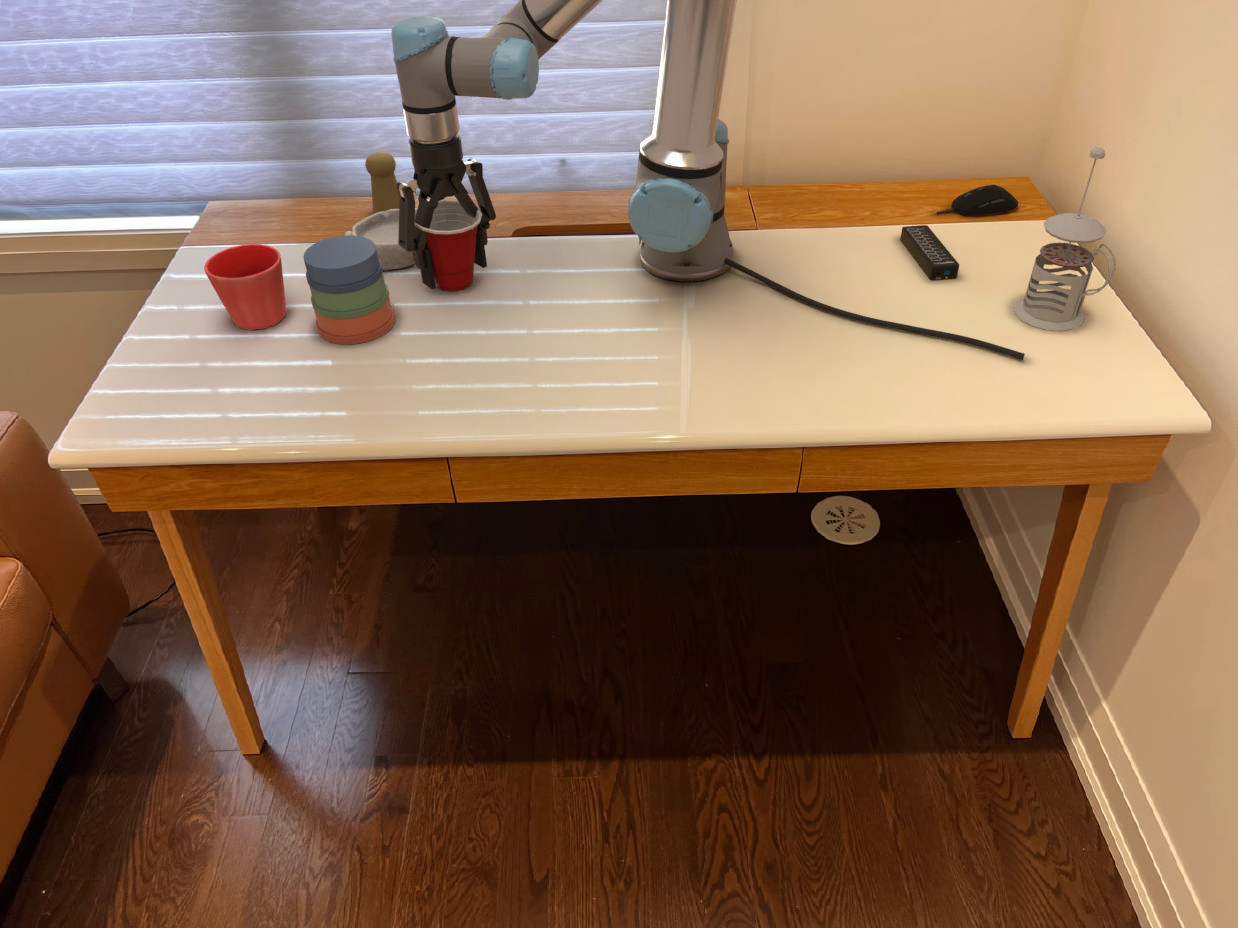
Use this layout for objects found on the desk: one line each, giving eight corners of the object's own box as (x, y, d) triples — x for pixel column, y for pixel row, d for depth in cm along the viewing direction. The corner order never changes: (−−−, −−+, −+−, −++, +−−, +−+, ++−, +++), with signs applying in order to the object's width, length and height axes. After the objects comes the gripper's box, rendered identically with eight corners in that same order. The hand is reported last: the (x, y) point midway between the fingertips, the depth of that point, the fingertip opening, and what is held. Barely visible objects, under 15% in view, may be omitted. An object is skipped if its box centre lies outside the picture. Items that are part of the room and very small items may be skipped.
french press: (1033, 290, 146) (1079, 128, 130) (1108, 316, 139) (1166, 150, 123) (1001, 314, 141) (1045, 149, 125) (1077, 343, 134) (1134, 173, 118)
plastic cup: (478, 302, 147) (468, 231, 139) (412, 297, 149) (399, 226, 141) (498, 269, 155) (490, 200, 148) (436, 264, 157) (424, 196, 149)
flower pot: (258, 343, 140) (239, 284, 133) (208, 324, 144) (188, 266, 138) (311, 311, 146) (295, 253, 140) (262, 293, 151) (245, 237, 145)
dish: (429, 229, 167) (425, 202, 164) (443, 264, 157) (439, 236, 154) (346, 243, 164) (340, 216, 161) (355, 279, 154) (349, 251, 151)
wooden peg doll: (403, 220, 170) (392, 161, 163) (370, 221, 170) (357, 162, 163) (409, 206, 175) (399, 147, 168) (377, 206, 175) (365, 148, 168)
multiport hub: (924, 237, 160) (927, 224, 159) (957, 278, 149) (960, 265, 148) (899, 239, 160) (901, 226, 158) (930, 280, 149) (933, 267, 147)
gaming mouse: (928, 206, 169) (933, 185, 167) (1005, 197, 171) (1010, 176, 169) (944, 221, 164) (949, 199, 162) (1023, 212, 166) (1029, 190, 164)
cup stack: (410, 324, 143) (396, 252, 135) (341, 353, 137) (322, 279, 129) (371, 296, 149) (355, 225, 142) (303, 323, 144) (284, 251, 136)
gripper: (481, 109, 144) (497, 245, 159) (354, 148, 134) (383, 289, 148) (510, 122, 140) (523, 260, 154) (381, 163, 129) (408, 307, 144)
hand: (455, 274), depth 151 cm, fingers open, 9 cm apart
